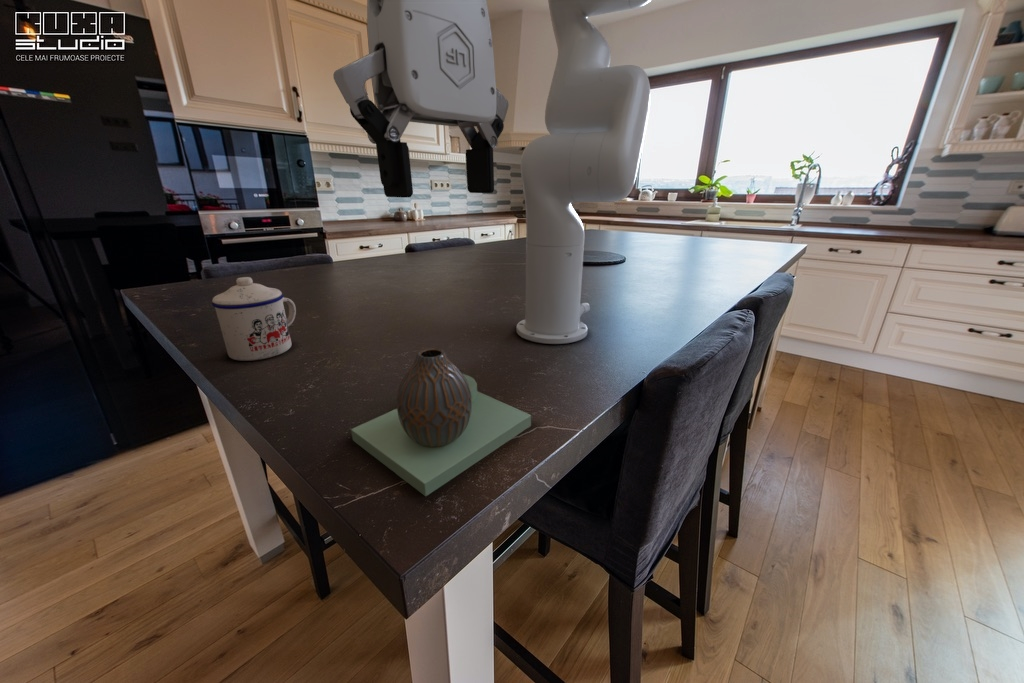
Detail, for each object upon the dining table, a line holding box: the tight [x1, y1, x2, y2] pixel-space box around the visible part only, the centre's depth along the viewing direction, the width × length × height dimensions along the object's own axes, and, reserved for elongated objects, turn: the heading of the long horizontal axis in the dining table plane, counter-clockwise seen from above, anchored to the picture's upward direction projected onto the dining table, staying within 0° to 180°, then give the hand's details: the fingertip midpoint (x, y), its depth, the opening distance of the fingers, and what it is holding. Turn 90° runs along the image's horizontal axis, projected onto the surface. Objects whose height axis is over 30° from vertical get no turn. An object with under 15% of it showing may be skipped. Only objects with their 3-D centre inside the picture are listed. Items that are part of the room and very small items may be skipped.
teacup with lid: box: [211, 276, 297, 362], centre depth 62 cm, size 12×9×12 cm
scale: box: [350, 373, 532, 497], centre depth 41 cm, size 14×12×3 cm
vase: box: [396, 347, 472, 447], centre depth 37 cm, size 7×7×9 cm
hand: (443, 194), depth 36 cm, fingers open, 9 cm apart
